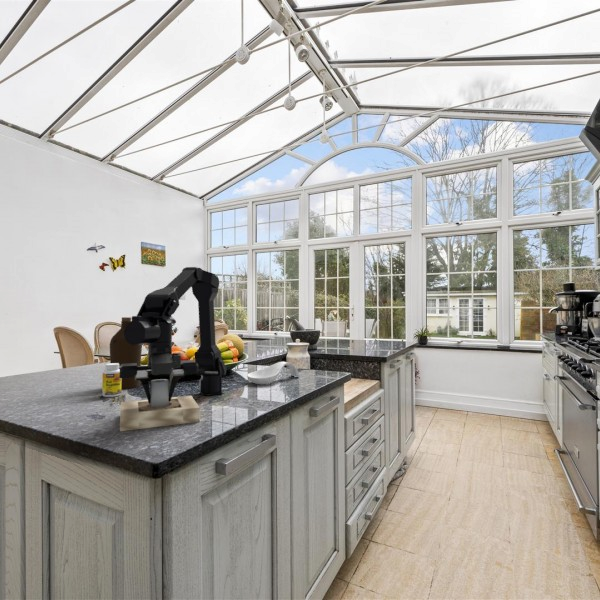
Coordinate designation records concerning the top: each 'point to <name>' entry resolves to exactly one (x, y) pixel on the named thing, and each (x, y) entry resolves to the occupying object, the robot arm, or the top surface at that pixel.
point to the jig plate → (158, 413)
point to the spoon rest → (270, 373)
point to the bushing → (159, 393)
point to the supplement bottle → (111, 380)
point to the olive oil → (125, 353)
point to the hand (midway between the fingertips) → (159, 402)
